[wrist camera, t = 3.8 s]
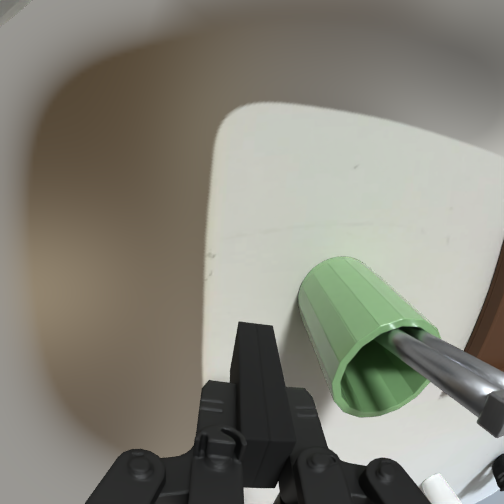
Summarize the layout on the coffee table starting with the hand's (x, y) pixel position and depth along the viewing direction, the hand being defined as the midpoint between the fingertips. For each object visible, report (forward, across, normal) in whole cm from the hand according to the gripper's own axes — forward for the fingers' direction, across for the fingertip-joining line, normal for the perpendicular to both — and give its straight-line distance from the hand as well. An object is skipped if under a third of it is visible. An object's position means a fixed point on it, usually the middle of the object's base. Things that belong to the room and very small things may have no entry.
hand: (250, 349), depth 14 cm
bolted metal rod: (-1, +6, +2) cm, 7 cm away
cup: (+8, +34, -29) cm, 45 cm away
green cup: (+7, +6, 0) cm, 10 cm away
